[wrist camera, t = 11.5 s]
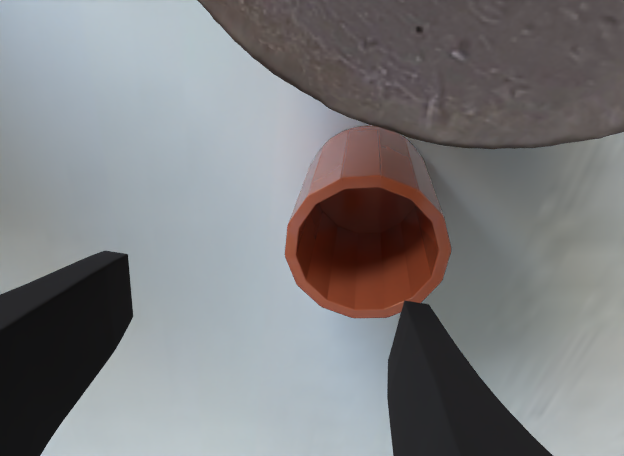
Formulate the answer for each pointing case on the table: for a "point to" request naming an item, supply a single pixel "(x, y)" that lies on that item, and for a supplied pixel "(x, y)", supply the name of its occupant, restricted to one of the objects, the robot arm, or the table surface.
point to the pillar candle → (447, 64)
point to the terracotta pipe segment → (367, 226)
